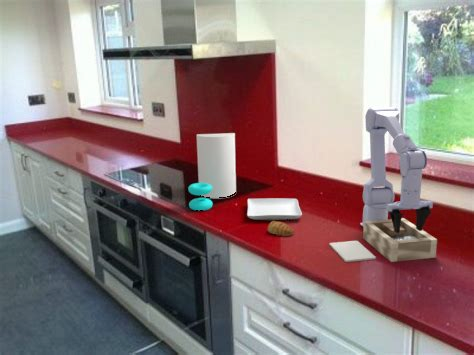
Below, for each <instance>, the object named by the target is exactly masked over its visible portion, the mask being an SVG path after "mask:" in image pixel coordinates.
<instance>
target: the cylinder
mask: <svg viewBox="0 0 474 355" xmlns="http://www.w3.org/2000/svg"><path fill="white" fill-rule="evenodd" d="M196 152H197V153H196V154H197V173H198V174H197V176H198V183H207V184H210V185H211V186H212V191H211V192H210V193H208V194H206V195H201V197H202V196H204V197H203V198H206V197H210V198H209V199H220V198H219V197H226V198H228V197H227V196H230V195H232V194H234V193H235V192H236V193H237V174H236V133H235V132H229V133H228V132H227V133H226V132H225V133H224V132H223V133H200V134H199V133H198V134H196Z"/></svg>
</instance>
